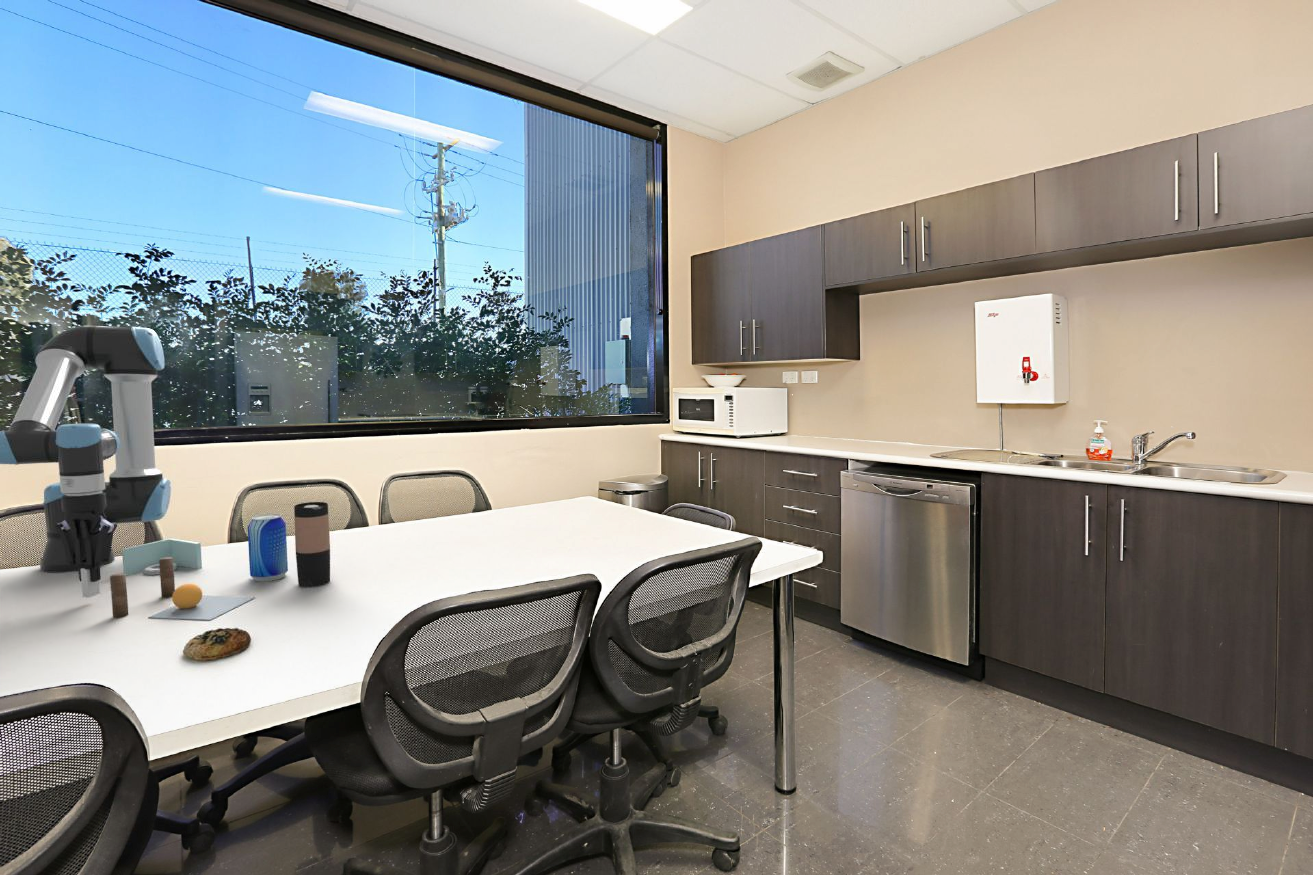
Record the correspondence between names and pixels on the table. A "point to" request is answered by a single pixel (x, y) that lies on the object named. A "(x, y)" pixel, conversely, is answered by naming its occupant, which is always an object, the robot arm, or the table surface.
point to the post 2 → (167, 577)
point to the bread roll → (217, 644)
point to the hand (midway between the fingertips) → (91, 595)
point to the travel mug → (312, 543)
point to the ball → (187, 596)
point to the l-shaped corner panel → (161, 556)
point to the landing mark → (204, 608)
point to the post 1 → (119, 595)
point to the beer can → (267, 547)
